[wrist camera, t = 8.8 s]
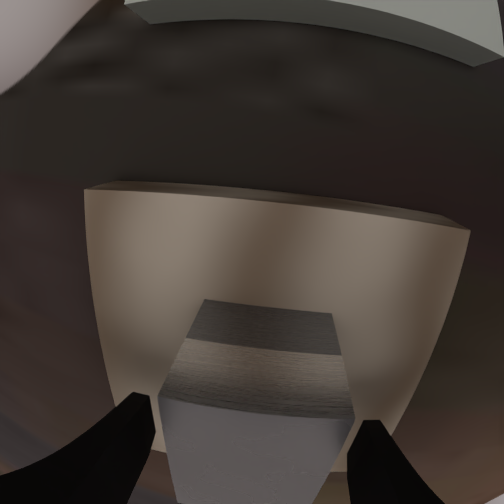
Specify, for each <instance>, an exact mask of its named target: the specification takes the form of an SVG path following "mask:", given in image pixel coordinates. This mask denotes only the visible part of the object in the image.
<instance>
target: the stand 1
mask: <svg viewBox="0 0 504 504" xmlns="http://www.w3.org/2000/svg"><path fill="white" fill-rule="evenodd" d="M124 5H126V6H127V7H128V8H130V9H131V10H132V11H134V12H135V13H136V14H137V15H139V16H140V17H141V18H143V19H144V20H145V21H146V22H148V23H149V24H157V23H167V22H178V21H192V20H217V19H243V20H269V21H283V22H294V23H304V24H312V25H320V26H327V27H333V28H339V29H345V30H350V31H356V32H361V33H365V34H370V35H374V36H379V37H383V38H387V39H391V40H395V41H399V42H402V43H406V44H409V45H413V46H416V47H419V48H423V49H426V50H429V51H432V52H435V53H438V54H441V55H443V56H446V57H449V58H452V59H454V60H457V61H460V62H462V63H465V64H467V65H470V66H472V67H475V66H478V65H481V64H484V63H487V62H490V61H493V60H497V59H500V58H503V57H504V47H503V37H502V29H501V21H500V15H499V9H498V3H497V0H125V4H124Z"/></svg>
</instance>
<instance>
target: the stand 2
mask: <svg viewBox="0 0 504 504" xmlns="http://www.w3.org/2000/svg"><path fill="white" fill-rule="evenodd" d="M84 199H85V223H86V238H87V250H88V261H89V270H90V279H91V287H92V294H93V301H94V308H95V314H96V320H97V326H98V332H99V337H100V342H101V347H102V352H103V357H104V362H105V366H106V371H107V375H108V379H109V383H110V387H111V391H112V395H113V399H114V402H115V406H117V405H118V404H119V403H121V402H122V401H123V400H124V399H125V398H126V397H127V396H128V395H129V394H130V393H132V392H137V393H141V394H145V395H149V396H150V401H151V407H152V413H153V418H154V423H155V428H156V434H155V437H154V441H153V444H152V447H151V449H153V450H157V451H161V452H165V453H167V452H166V447H165V441H164V436H163V430H162V424H161V418H160V412H159V405H158V398H157V396H158V394H159V392H160V389H161V387H162V385H163V383H164V381H165V379H166V377H167V375H168V373H169V371H170V369H171V366H172V364H173V362H174V360H175V358H176V356H177V354H178V352H179V350H180V348H181V346H182V344H183V342H184V340H185V338H186V336H187V334H188V332H189V330H190V328H191V325H192V323H193V321H194V319H195V317H196V315H197V313H198V311H199V309H200V307H201V305H202V303H203V301H204V299H208V300H216V301H223V302H231V303H239V304H247V305H256V306H264V307H273V308H282V309H292V310H302V311H312V312H322V313H332V317H333V321H334V325H335V329H336V333H337V337H338V341H339V345H340V350H341V354H342V358H343V363H344V367H345V372H346V376H347V381H348V385H349V390H350V394H351V399H352V404H353V409H354V414H355V421H354V424H353V426H352V428H351V430H350V432H349V434H348V437H347V439H346V441H345V443H344V445H343V447H342V449H341V451H340V453H339V455H338V457H337V459H336V461H335V463H334V465H333V467H332V469H331V470H330V472H345V471H347V452H348V450H349V448H350V446H351V444H352V442H353V440H354V438H355V436H356V434H357V432H358V430H359V428H360V426H361V424H362V422H363V420H381V422H382V423H383V425H384V426H385V428H386V429H387V431H388V432H389V434H390V435H392V433H393V431H394V430H395V428H396V426H397V424H398V422H399V421H400V419H401V417H402V415H403V413H404V411H405V409H406V407H407V406H408V404H409V402H410V400H411V398H412V396H413V394H414V392H415V390H416V387H417V385H418V383H419V381H420V379H421V377H422V375H423V372H424V370H425V368H426V366H427V363H428V361H429V359H430V356H431V354H432V352H433V349H434V347H435V344H436V342H437V339H438V337H439V334H440V332H441V329H442V326H443V324H444V321H445V318H446V315H447V312H448V310H449V307H450V304H451V301H452V298H453V294H454V291H455V288H456V285H457V282H458V278H459V275H460V271H461V268H462V264H463V260H464V257H465V253H466V249H467V245H468V240H469V236H470V232H471V231H470V230H469V229H467V228H465V227H463V226H461V225H459V224H458V223H456V222H454V221H452V220H450V219H448V218H446V217H444V216H442V215H438V214H433V213H427V212H421V211H416V210H410V209H404V208H398V207H392V206H385V205H379V204H372V203H365V202H358V201H351V200H344V199H337V198H329V197H321V196H313V195H305V194H296V193H287V192H278V191H268V190H258V189H247V188H236V187H224V186H211V185H196V184H181V183H163V182H142V181H113V182H109V183H105V184H102V185H98V186H94V187H91V188H87V189H84Z"/></svg>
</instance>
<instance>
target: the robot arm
mask: <svg viewBox="0 0 504 504" xmlns="http://www.w3.org/2000/svg"><path fill="white" fill-rule="evenodd" d="M155 434H156V428H155V423H154V418H153V413H152V407H151V401H150V396H149V395H145V394H141V393H137V392H132V393H130V394H129V395H128V396H127V397H126V398H125V399H124V400H123V401H122V402H121V403H119V404H118V405H117V406H116V407H115V408H114V409H113V410H112V411H110V412H109V413H108V414H107V415H106V416H105V417H103V418H102V419H101V420H100V421H99V422H97V423H96V424H95V425H94V426H92V427H91V428H90V429H89V430H87V431H86V432H85V433H83V434H82V435H80V436H79V437H78V438H76V439H75V440H73V441H72V442H71V443H69V444H68V445H66V446H65V447H63V448H61V449H60V450H58V451H56V452H55V453H53V454H51V455H49V456H48V457H46V458H44V459H42V460H39V461H37V462H35V463H33V464H31V465H29V466H26V467H24V468H21V469H19V470H16V471H13V472H10V473H7V474H4V475H0V504H127V502H128V500H129V498H130V495H131V493H132V491H133V489H134V487H135V485H136V482H137V480H138V478H139V476H140V474H141V472H142V470H143V467H144V465H145V463H146V461H147V458H148V456H149V453H150V450H151V447H152V444H153V441H154V437H155ZM347 480H348V487H349V494H350V501H351V504H445V503H444V502H443V501H442V500H441V499H440V498H439V497H438V496H437V495H436V494H435V493H434V492H433V491H432V490H431V489H430V488H429V487H428V485H427V484H426V483H425V482H424V481H423V480H422V478H421V477H420V476H419V475H418V473H417V472H416V471H415V469H414V468H413V467H412V465H411V464H410V463H409V461H408V460H407V459H406V457H405V456H404V454H403V453H402V452H401V450H400V449H399V447H398V446H397V444H396V443H395V441H394V440H393V438H392V437H391V435H390V434H389V432H388V431H387V429H386V428H385V426H384V425H383V423H382V422H381V420H363V422H362V424H361V426H360V428H359V430H358V432H357V434H356V436H355V438H354V440H353V442H352V444H351V446H350V448H349V450H348V452H347Z"/></svg>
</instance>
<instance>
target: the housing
mask: <svg viewBox="0 0 504 504" xmlns="http://www.w3.org/2000/svg"><path fill="white" fill-rule="evenodd" d="M157 398H158V405H159V412H160V418H161V424H162V430H163V436H164V441H165V447H166V452H167V457H168V462H169V467H170V471H171V476H172V481H173V485H174V489H175V494H176V498H177V502H178V503H183V504H312V503H313V501H314V499H315V497H316V496H317V494H318V492H319V491H320V489H321V487H322V485H323V483H324V482H325V480H326V478H327V476H328V474H329V472H330V470H331V469H332V467H333V465H334V463H335V461H336V459H337V457H338V455H339V453H340V451H341V449H342V447H343V445H344V443H345V441H346V439H347V437H348V434H349V432H350V430H351V428H352V426H353V424H354V421H355V414H354V409H353V404H352V399H351V394H350V390H349V385H348V381H347V376H346V372H345V367H344V363H343V358H342V354H341V350H340V345H339V341H338V337H337V333H336V329H335V325H334V321H333V317H332V313H322V312H312V311H302V310H292V309H282V308H273V307H264V306H256V305H247V304H239V303H231V302H223V301H216V300H208V299H204V301H203V303H202V305H201V307H200V309H199V311H198V313H197V315H196V317H195V319H194V321H193V323H192V325H191V328H190V330H189V332H188V334H187V336H186V338H185V340H184V342H183V344H182V346H181V348H180V350H179V352H178V354H177V356H176V358H175V360H174V362H173V364H172V366H171V369H170V371H169V373H168V375H167V377H166V379H165V381H164V383H163V385H162V387H161V389H160V392H159V394H158V396H157Z"/></svg>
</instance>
